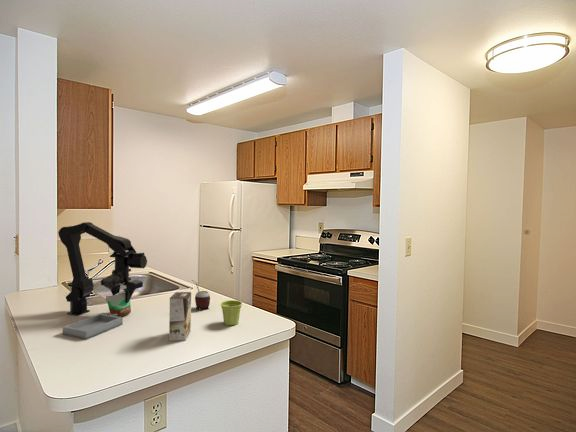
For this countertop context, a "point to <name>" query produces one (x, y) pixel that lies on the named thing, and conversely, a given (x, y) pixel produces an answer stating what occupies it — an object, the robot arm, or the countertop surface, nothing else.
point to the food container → (118, 304)
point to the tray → (92, 326)
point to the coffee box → (180, 316)
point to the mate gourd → (202, 299)
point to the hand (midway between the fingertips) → (121, 302)
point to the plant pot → (231, 311)
